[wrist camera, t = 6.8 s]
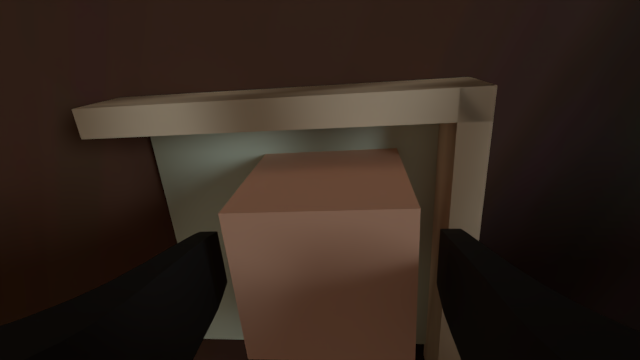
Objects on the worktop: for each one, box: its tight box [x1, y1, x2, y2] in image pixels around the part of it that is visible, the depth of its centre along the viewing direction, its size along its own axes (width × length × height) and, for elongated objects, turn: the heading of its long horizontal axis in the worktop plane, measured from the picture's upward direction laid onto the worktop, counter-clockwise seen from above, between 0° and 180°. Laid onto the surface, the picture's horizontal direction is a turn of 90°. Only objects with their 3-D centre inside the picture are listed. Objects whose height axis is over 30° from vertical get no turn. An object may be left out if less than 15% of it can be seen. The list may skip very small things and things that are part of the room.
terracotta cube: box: [218, 148, 421, 360], centre depth 12 cm, size 5×5×5 cm
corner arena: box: [72, 77, 497, 360], centre depth 14 cm, size 13×13×2 cm
